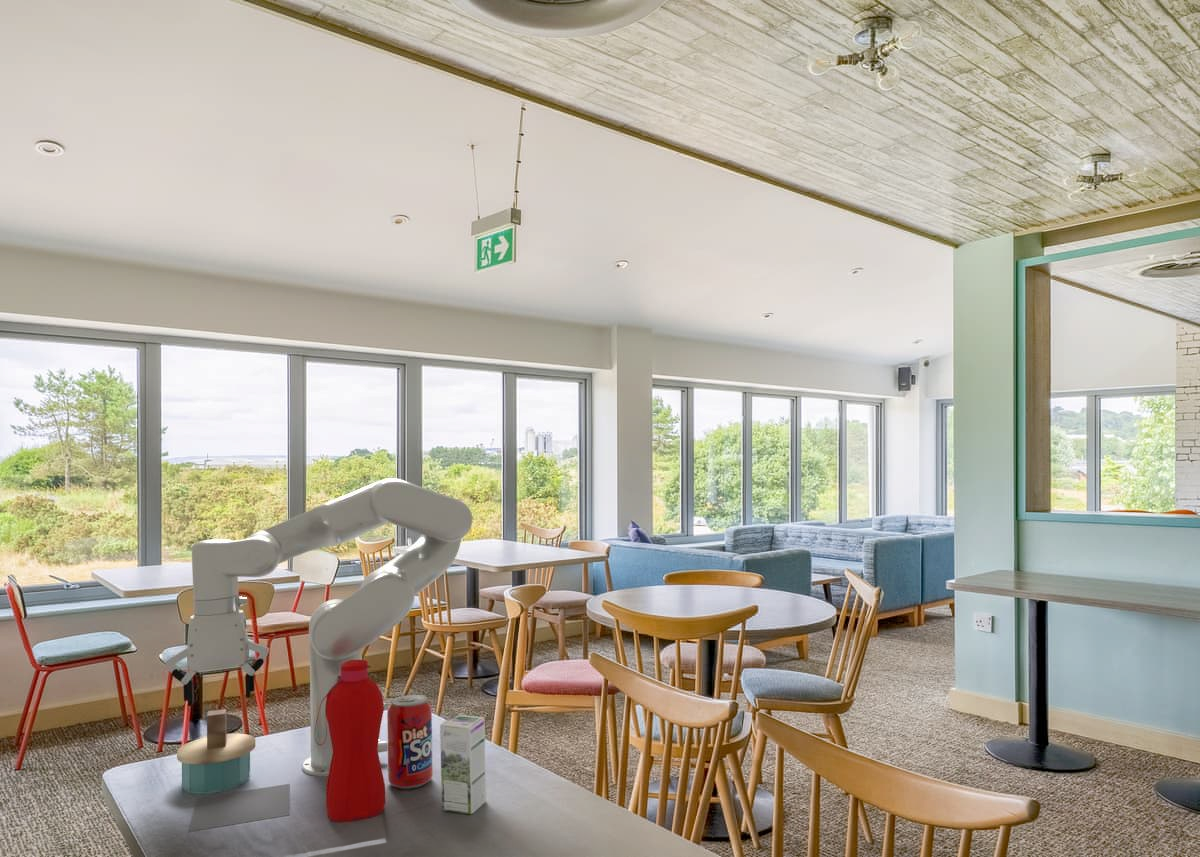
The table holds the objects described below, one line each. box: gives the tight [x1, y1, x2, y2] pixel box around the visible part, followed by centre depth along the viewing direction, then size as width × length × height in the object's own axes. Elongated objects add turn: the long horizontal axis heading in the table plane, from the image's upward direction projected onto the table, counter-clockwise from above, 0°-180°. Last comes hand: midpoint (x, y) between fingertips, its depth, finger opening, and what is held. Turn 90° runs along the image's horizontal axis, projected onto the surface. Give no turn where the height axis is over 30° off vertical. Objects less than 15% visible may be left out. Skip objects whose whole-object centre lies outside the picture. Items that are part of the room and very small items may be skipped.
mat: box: [187, 783, 291, 833], centre depth 138 cm, size 15×14×1 cm
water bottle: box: [315, 659, 386, 823], centre depth 136 cm, size 9×11×25 cm
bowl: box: [181, 752, 251, 795], centre depth 150 cm, size 11×11×6 cm
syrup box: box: [439, 714, 487, 815], centre depth 138 cm, size 6×6×14 cm
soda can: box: [386, 694, 434, 790], centre depth 148 cm, size 8×8×15 cm
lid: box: [176, 708, 256, 764], centre depth 150 cm, size 13×13×7 cm
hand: (220, 700), depth 150 cm, fingers open, 9 cm apart
